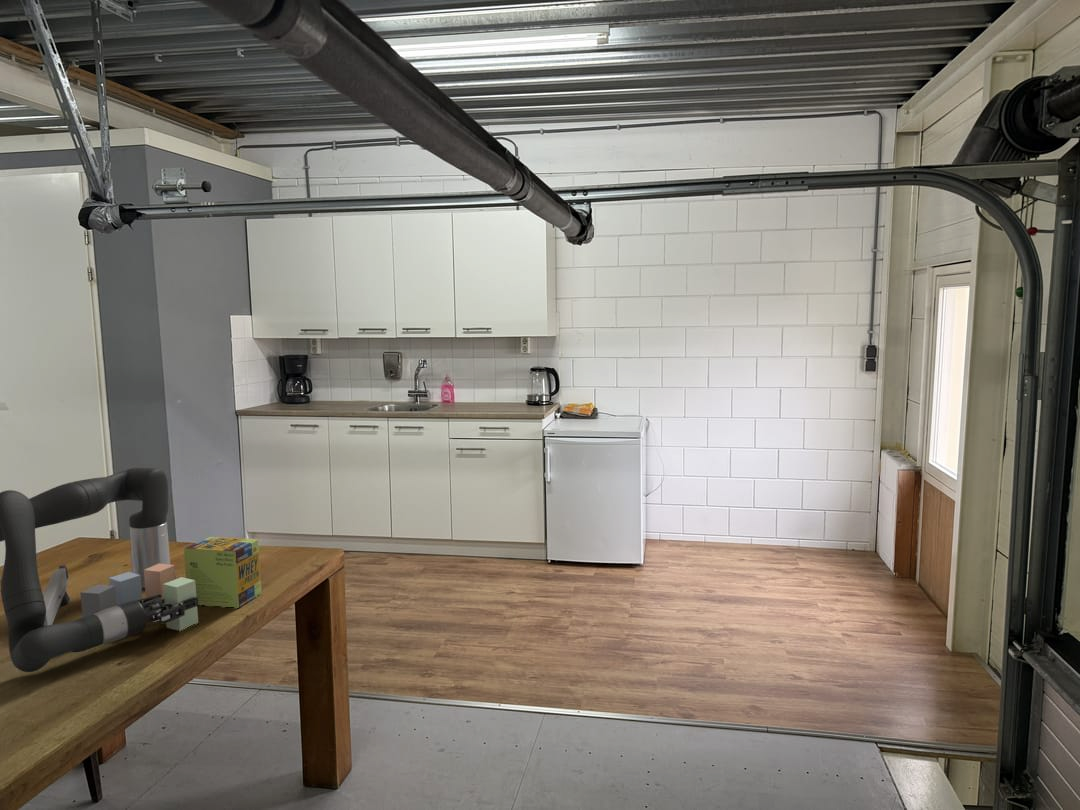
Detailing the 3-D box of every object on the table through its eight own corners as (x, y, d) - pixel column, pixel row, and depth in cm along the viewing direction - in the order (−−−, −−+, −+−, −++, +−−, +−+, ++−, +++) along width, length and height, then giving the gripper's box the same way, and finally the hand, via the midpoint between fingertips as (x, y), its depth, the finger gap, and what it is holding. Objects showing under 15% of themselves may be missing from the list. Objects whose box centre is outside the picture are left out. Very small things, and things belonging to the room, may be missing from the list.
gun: (73, 591, 195) (68, 559, 191) (51, 650, 173) (45, 615, 169) (62, 593, 194) (57, 561, 190) (39, 652, 172) (32, 616, 168)
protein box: (239, 609, 185) (235, 551, 183) (187, 605, 188) (182, 548, 186) (262, 593, 195) (259, 538, 193) (212, 590, 198) (208, 535, 196)
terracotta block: (147, 611, 184) (143, 569, 183) (162, 603, 189) (159, 563, 187) (163, 613, 183) (159, 571, 181) (177, 605, 187) (174, 565, 186)
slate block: (112, 620, 179) (108, 578, 177) (132, 613, 183) (129, 571, 181) (123, 624, 176) (120, 581, 175) (143, 617, 180) (140, 575, 179)
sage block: (166, 627, 174) (163, 584, 173) (184, 619, 178) (181, 577, 177) (180, 631, 172) (176, 587, 170) (198, 623, 176) (195, 580, 175)
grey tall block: (84, 636, 169) (80, 592, 168) (101, 627, 174) (97, 584, 173) (102, 638, 168) (98, 593, 167) (119, 629, 173) (115, 585, 172)
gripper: (131, 614, 158) (205, 589, 172) (102, 599, 167) (174, 577, 180) (134, 646, 159) (207, 619, 173) (105, 630, 168) (176, 606, 181)
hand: (190, 598), depth 176 cm, fingers closed on sage block, 5 cm apart
